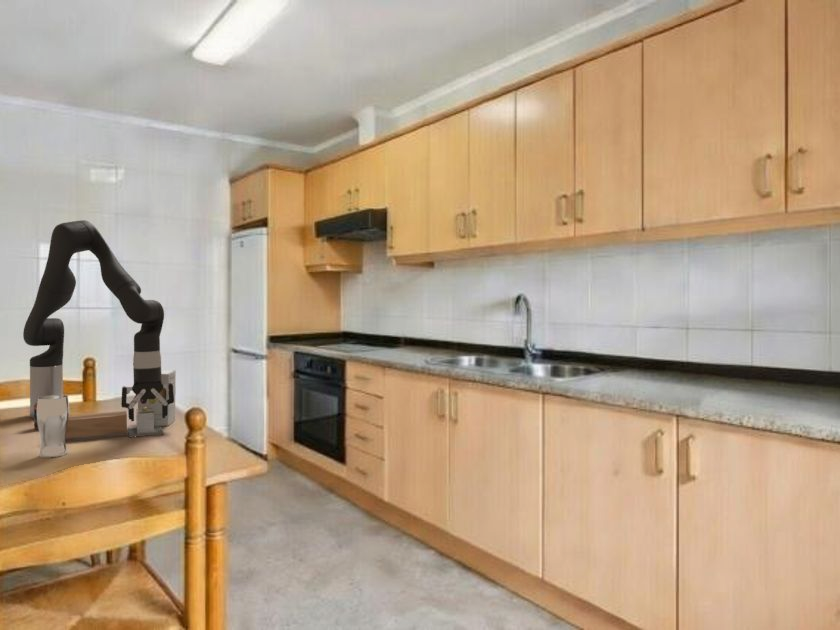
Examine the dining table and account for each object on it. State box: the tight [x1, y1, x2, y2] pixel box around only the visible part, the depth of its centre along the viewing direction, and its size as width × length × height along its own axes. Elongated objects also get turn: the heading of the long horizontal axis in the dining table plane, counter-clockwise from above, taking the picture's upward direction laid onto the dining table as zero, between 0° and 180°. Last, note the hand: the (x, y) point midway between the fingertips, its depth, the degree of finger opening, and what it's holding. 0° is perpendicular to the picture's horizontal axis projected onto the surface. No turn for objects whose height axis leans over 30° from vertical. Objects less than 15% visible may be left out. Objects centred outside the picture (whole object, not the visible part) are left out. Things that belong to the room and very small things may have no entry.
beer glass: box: [37, 394, 70, 459], centre depth 139 cm, size 7×7×15 cm
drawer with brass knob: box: [135, 407, 154, 434], centre depth 163 cm, size 4×8×7 cm, turn 30°
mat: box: [127, 425, 164, 438], centre depth 163 cm, size 10×9×1 cm
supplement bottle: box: [33, 397, 39, 430], centre depth 167 cm, size 5×5×10 cm
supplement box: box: [137, 369, 177, 427], centre depth 176 cm, size 10×9×17 cm
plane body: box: [65, 410, 129, 443], centre depth 158 cm, size 7×18×6 cm, turn 120°
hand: (148, 419), depth 164 cm, fingers open, 8 cm apart
